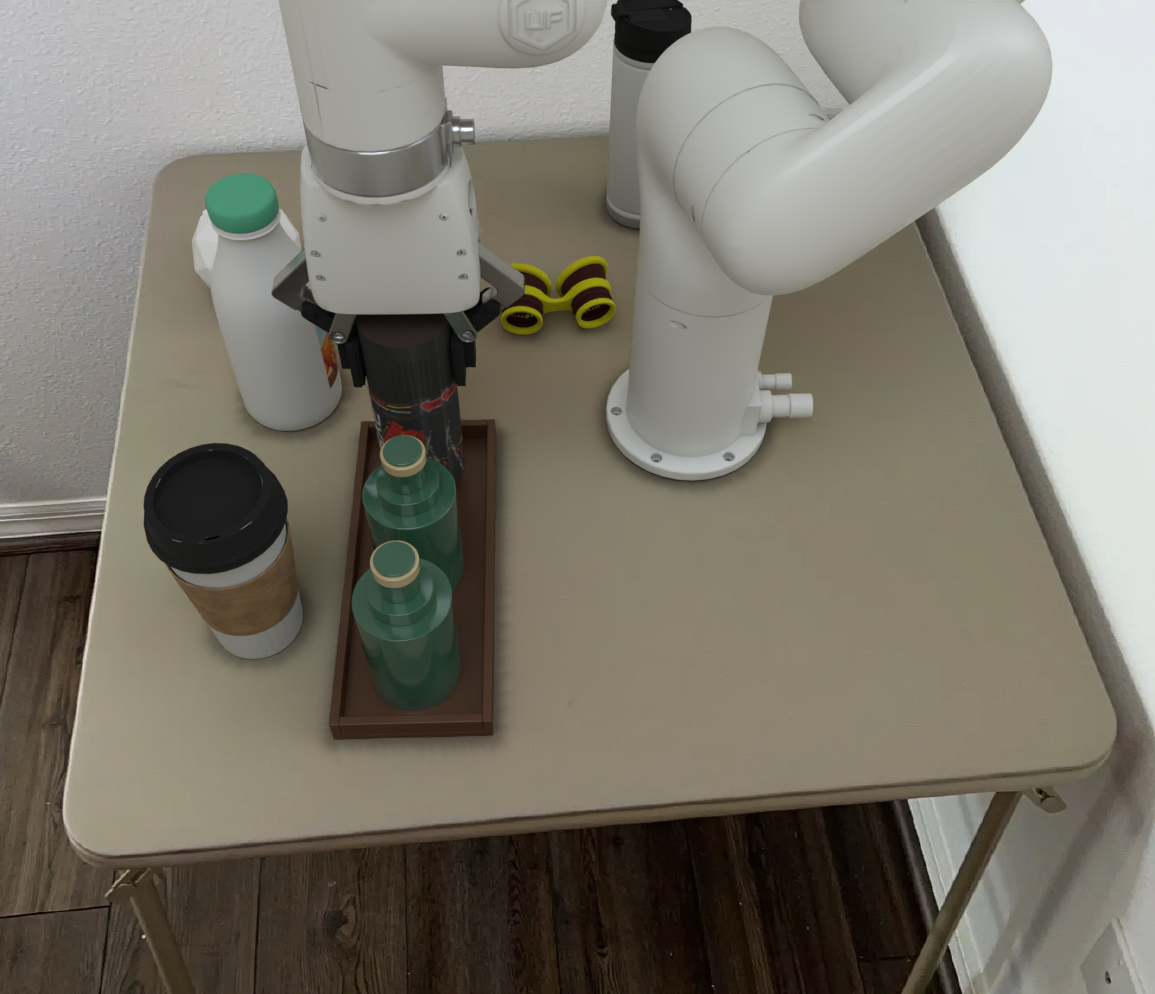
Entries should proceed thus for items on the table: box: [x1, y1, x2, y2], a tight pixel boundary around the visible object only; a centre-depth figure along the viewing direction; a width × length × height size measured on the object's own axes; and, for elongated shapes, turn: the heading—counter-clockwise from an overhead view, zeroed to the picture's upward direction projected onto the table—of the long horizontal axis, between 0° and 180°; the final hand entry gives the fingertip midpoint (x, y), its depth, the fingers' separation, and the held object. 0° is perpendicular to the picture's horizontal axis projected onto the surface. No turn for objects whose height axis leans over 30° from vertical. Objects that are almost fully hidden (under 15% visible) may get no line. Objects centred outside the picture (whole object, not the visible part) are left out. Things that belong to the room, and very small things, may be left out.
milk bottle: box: [204, 172, 343, 432], centre depth 82 cm, size 8×8×20 cm
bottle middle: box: [362, 435, 465, 592], centre depth 74 cm, size 6×6×13 cm
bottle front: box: [352, 541, 462, 711], centre depth 70 cm, size 6×6×13 cm
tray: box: [328, 418, 497, 740], centre depth 79 cm, size 10×25×2 cm, turn 2°
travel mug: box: [605, 0, 693, 230], centre depth 97 cm, size 6×7×20 cm
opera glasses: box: [500, 255, 617, 336], centre depth 94 cm, size 10×5×5 cm, turn 99°
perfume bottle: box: [191, 208, 302, 291], centre depth 95 cm, size 9×9×12 cm
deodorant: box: [356, 313, 465, 483], centre depth 77 cm, size 6×6×15 cm
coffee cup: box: [142, 442, 304, 660], centre depth 72 cm, size 8×8×15 cm
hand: (411, 369), depth 75 cm, fingers closed on deodorant, 6 cm apart
